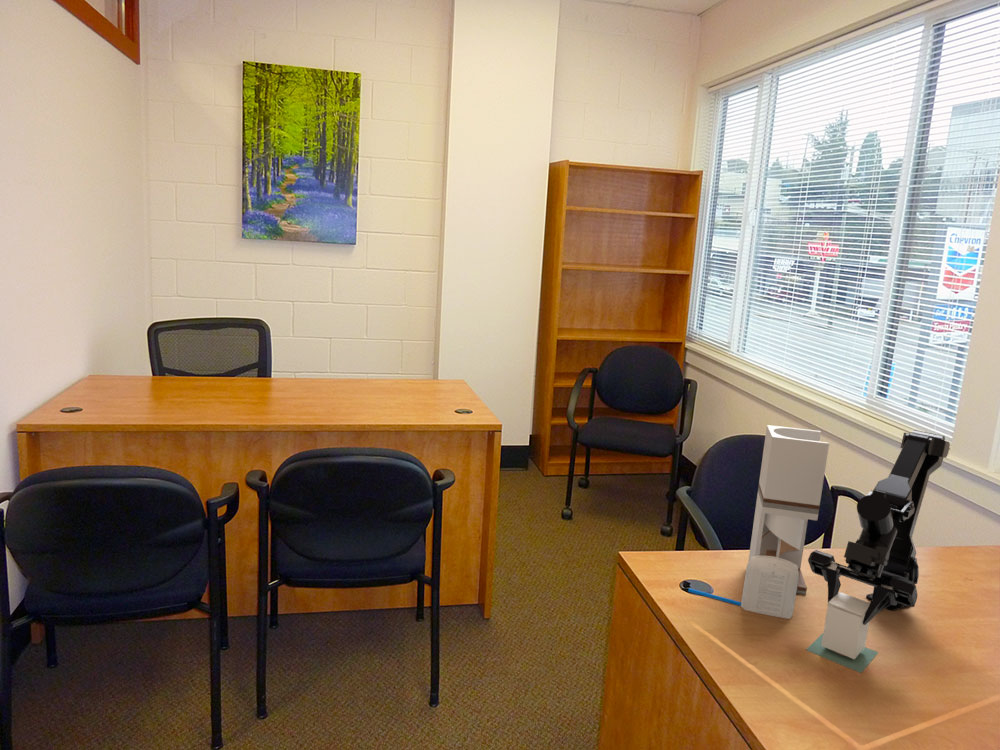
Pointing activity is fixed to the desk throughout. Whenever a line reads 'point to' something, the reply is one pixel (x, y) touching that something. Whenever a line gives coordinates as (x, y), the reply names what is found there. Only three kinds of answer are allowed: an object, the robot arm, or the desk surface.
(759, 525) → the white coffee grinder
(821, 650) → the mat
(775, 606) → the photo printer
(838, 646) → the white lidded box
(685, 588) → the pen
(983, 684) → the desk surface
